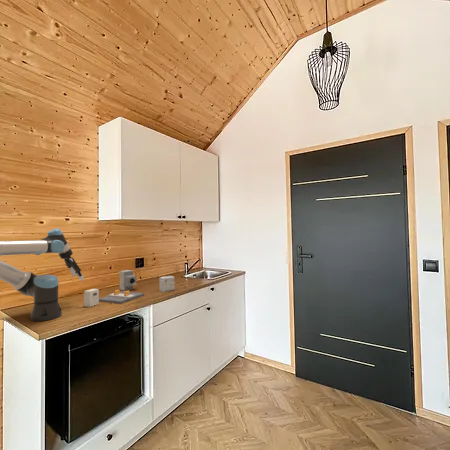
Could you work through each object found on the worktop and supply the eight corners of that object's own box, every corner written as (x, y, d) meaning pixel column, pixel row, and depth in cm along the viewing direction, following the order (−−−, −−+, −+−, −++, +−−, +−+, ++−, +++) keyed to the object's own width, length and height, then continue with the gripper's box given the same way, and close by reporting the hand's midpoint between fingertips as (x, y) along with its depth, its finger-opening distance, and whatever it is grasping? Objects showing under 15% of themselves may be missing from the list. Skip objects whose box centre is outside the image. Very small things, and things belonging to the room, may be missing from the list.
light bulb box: (169, 288, 227) (169, 275, 227) (174, 289, 223) (174, 276, 223) (159, 290, 219) (158, 277, 219) (164, 292, 214) (164, 278, 214)
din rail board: (120, 303, 182) (120, 295, 182) (98, 301, 190) (98, 293, 190) (144, 295, 205) (143, 288, 205) (122, 293, 212) (122, 286, 212)
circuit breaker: (129, 291, 218) (129, 272, 218) (119, 289, 226) (119, 271, 227) (137, 289, 224) (137, 271, 224) (127, 287, 232) (127, 269, 233)
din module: (91, 307, 175) (91, 291, 175) (84, 306, 178) (84, 290, 178) (100, 304, 182) (99, 289, 182) (93, 303, 184) (93, 288, 184)
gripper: (76, 251, 173) (91, 278, 181) (63, 245, 190) (77, 270, 198) (65, 257, 168) (80, 285, 177) (52, 250, 185) (66, 276, 193)
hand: (78, 277), depth 187 cm, fingers open, 13 cm apart
